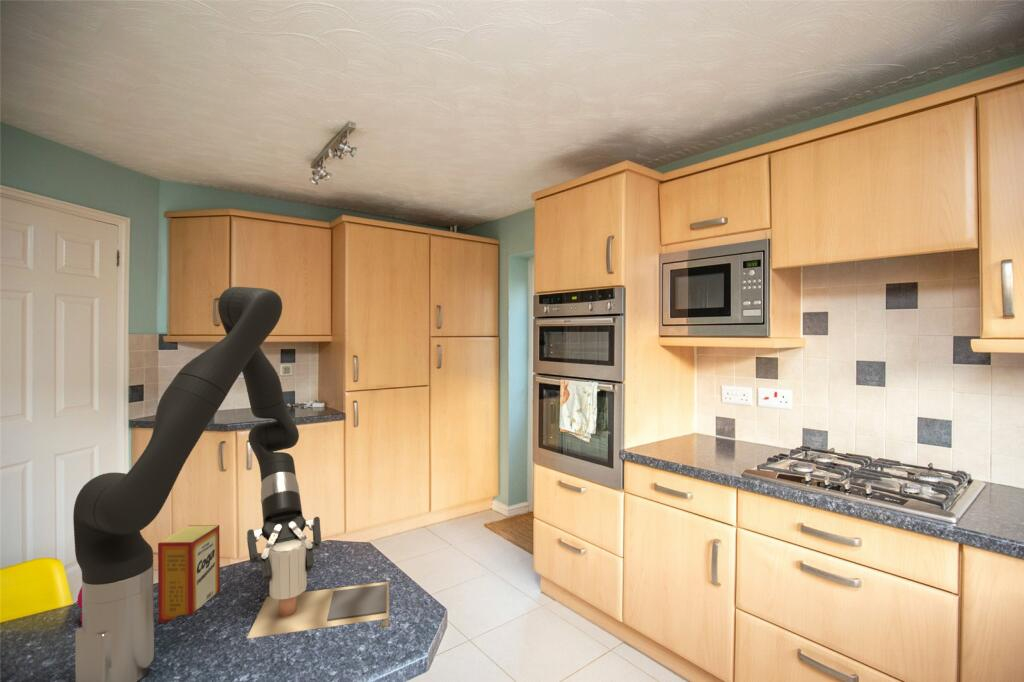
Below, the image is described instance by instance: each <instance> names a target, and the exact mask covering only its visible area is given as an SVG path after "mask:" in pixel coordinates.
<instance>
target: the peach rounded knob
mask: <svg viewBox="0 0 1024 682" xmlns="http://www.w3.org/2000/svg"><path fill="white" fill-rule="evenodd" d="M296 611H297V596H295V597H292V598H288V599H281V600H280V599H279V615H280V616H290V615H292V614H294V613H295V612H296Z"/></svg>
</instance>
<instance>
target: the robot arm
mask: <svg viewBox="0 0 1024 682" xmlns="http://www.w3.org/2000/svg"><path fill="white" fill-rule="evenodd" d="M217 309H218V310H217V311H218V315H219V319H220V322H221V325H222V327H223V329H224V331H225V337H224V338H222V339H220V340H219V341H218V342H217V343H215V344H214V345H212V346H211V347H209V348H208V349H206V350H205V351H203V352H202V353H200V354H198V355H197V356H195V357H194V358H193V359H191V360H190V361H188V363H186V364H184V366H183V367H182V368H181V369H180V370H179V371H178V372H177V374H176V375H175V376H174V378H173V379H172V381H171V382H170V384H169V385H168V386H167V388H166V389H165V391H164V392H163V394H162V395H161V397H160V398H159V402H158V404H157V407H156V413H155V417H154V422H153V423H154V424H153V429H152V433H151V437H150V439H149V442H148V443H147V445H146V447H145V449H144V450H143V452H142V453H141V455H140V456H139V458H138V459H137V460H136V462H135V463H134V464H133V466H132V467H131V469H129V470H128V472H127V473H124V472H106V473H102V474H99V475H96V476H95V477H93V478H91V479H89V481H87V482H86V483H85V484H84V485H83V486H82V487H81V489H80V491H79V492H78V494H77V496H76V498H75V501H74V506H73V516H72V517H73V535H74V536H73V539H74V552H75V559H76V562H77V564H78V566H79V569H80V571H81V587H82V609H81V612H82V623H81V627H80V628H77V629H76V630H75V635H74V636H75V640H74V641H75V644H74V645H75V647H74V648H75V660H74V661H75V682H138V681H140V680H141V679H143V678H144V677H146V676H147V675H148V674H149V673H150V671H152V668H150V667H149V665H150V664H151V663H152V662H153V660H154V656H155V631H154V630H155V627H154V621H155V620H154V618H155V617H154V550H153V547H152V546H151V545H150V544H149V543H148V542H147V541H146V539H145V538H144V537H143V536H142V533H141V531H142V530H143V529H146V527H148V526H149V525H151V523H152V522H153V521H154V520H155V519H156V518H157V517H158V515H159V513H160V512H161V510H162V509H163V507H164V505H165V503H166V501H167V499H168V497H169V496H170V493H171V492H172V490H173V487H174V485H175V483H176V481H177V479H178V477H179V475H180V473H181V471H182V469H183V467H184V465H185V463H186V461H187V459H188V458H189V456H190V455H191V453H192V452H193V450H194V449H195V447H196V445H197V444H198V442H199V440H200V439H201V437H202V435H203V433H204V432H205V430H206V428H207V426H208V425H209V423H210V422H211V421H212V420H213V418H214V416H215V414H216V413H217V412H218V410H219V408H220V407H221V406H222V404H223V402H224V400H226V397H227V396H228V395H229V392H230V390H231V389H232V387H233V385H234V384H235V382H236V381H237V379H238V378H239V376H240V375H241V374H242V376H243V379H244V384H245V387H246V392H247V396H248V400H249V401H248V402H249V405H250V410H251V413H252V415H253V416H254V417H255V418H257V419H258V418H259V419H268V420H274V421H269V422H265V423H264V422H263V423H259V424H258V423H257V424H256V425H254V426H252V428H250V431H249V433H248V435H247V436H248V443H249V446H250V448H251V450H252V451H253V454H254V455H255V458H256V460H257V463H258V466H259V473H260V482H261V487H260V497H261V498H260V503H261V512H262V513H261V514H262V522H263V523H262V527H261V529H256V530H254V529H252V528H251V529H248V530H247V532H246V542H247V548H248V555H249V562H250V564H254V563H257V564H258V563H259V564H260V566H261V567H260V569H261V570H260V571H261V578H262V580H265V581H266V582H267V583H268V582H269V581H271V571H270V560H269V548H270V546H273V545H274V544H275V543H281V542H284V541H290V540H295V539H299V540H304V541H305V542H306V573H309V572H311V571H312V569H313V568H314V564H315V558H314V551H315V550H318V549H319V548H320V547H321V542H322V531H321V521H320V520H321V518H320V517H319V516H315V517H313V519H308V520H307V519H305V517H304V515H303V509H302V501H301V495H300V494H301V493H300V487H299V482H298V479H297V474H296V466H295V460H294V457H293V456H292V455H291V454H290V453H287V452H280V451H283V450H288V449H291V448H293V447H295V446H296V445H297V443H298V441H299V437H300V432H299V429H298V427H297V425H296V422H295V421H294V420H293V418H292V416H291V414H290V413H289V411H288V409H287V406H286V403H285V399H284V398H285V397H284V393H283V388H282V387H283V386H282V383H281V379H280V375H278V372H277V371H276V369H275V367H274V366H273V364H272V363H271V362H270V360H269V359H268V357H267V355H266V354H265V353H264V351H263V350H262V348H261V345H262V344H263V343H264V342H265V341H266V339H267V338H268V337H269V336H270V334H271V333H272V332H273V330H274V329H275V328H276V326H277V325H278V323H279V321H280V319H281V317H282V312H283V301H282V298H281V297H280V295H279V294H278V293H277V292H276V291H274V290H271V289H268V288H264V287H263V288H262V287H261V288H260V287H250V286H249V287H248V286H231V287H228V288H227V289H225V290H224V291H223V292H222V293H221V294H220V296H219V298H218V303H217ZM306 527H308V530H310V531H312V540H313V541H310V540H309V539H308V538H307V535H306V534H305V533H304V532H303V531H304V530H305V528H306ZM261 536H262V537H263V538H264V539H265V540H266V541H267V542H266V545H265V547H264V549H263V551H262V553H259V552H258V547H257V543H258V542H259V541H260V537H261Z"/></svg>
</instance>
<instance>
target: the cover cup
mask: <svg viewBox="0 0 1024 682" xmlns="http://www.w3.org/2000/svg"><path fill="white" fill-rule="evenodd" d="M269 560H270V571H271V581H268V582H269V583H268V584H269V596H271V597H272V598H274V599H280V600H281V599H288V598H292V597H295V596H298V595H300V594H301V593H302V592H306V589H307V586H308V585H307V583H308V581H307V571H306V542H305V541H304V540H299V539H295V540H290V541H284V542H281V543H275V544H274V545H273V546H270V548H269Z"/></svg>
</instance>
